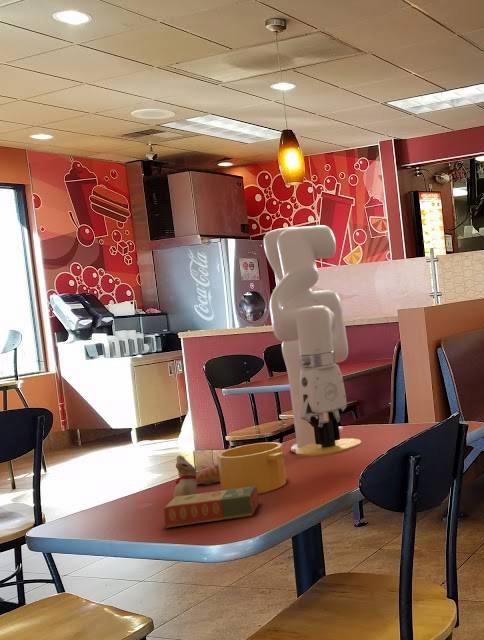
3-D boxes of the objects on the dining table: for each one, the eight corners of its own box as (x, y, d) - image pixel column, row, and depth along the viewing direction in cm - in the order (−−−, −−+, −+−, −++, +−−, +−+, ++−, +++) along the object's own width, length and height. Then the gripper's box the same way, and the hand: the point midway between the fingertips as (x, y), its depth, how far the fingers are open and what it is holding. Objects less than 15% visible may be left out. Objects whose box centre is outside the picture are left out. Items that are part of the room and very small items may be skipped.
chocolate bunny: (209, 494, 164) (203, 449, 163) (181, 505, 157) (175, 458, 156) (190, 494, 166) (185, 449, 166) (162, 505, 159) (156, 459, 159)
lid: (329, 442, 179) (325, 415, 178) (374, 443, 170) (371, 414, 170) (282, 457, 166) (278, 428, 166) (329, 459, 158) (325, 429, 158)
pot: (250, 476, 176) (246, 441, 176) (307, 480, 166) (302, 443, 166) (201, 494, 165) (196, 456, 165) (258, 499, 155) (253, 459, 154)
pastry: (201, 487, 171) (199, 471, 171) (192, 483, 176) (190, 467, 176) (241, 477, 177) (239, 461, 177) (231, 474, 182) (229, 458, 182)
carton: (177, 516, 148) (174, 495, 148) (259, 504, 151) (257, 483, 150) (165, 529, 140) (162, 506, 140) (253, 516, 142) (250, 494, 142)
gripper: (302, 366, 159) (313, 451, 160) (355, 355, 173) (365, 434, 173) (278, 367, 163) (288, 450, 164) (332, 357, 177) (341, 433, 177)
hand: (327, 441), depth 168 cm, fingers closed on lid, 3 cm apart
